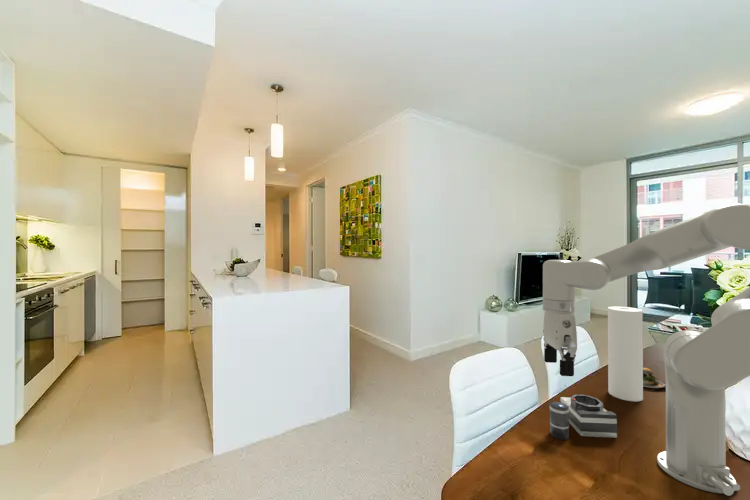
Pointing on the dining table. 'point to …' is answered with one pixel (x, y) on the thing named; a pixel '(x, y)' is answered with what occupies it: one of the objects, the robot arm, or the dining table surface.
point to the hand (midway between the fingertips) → (558, 368)
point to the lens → (559, 420)
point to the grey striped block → (590, 416)
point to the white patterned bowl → (651, 380)
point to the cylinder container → (625, 353)
